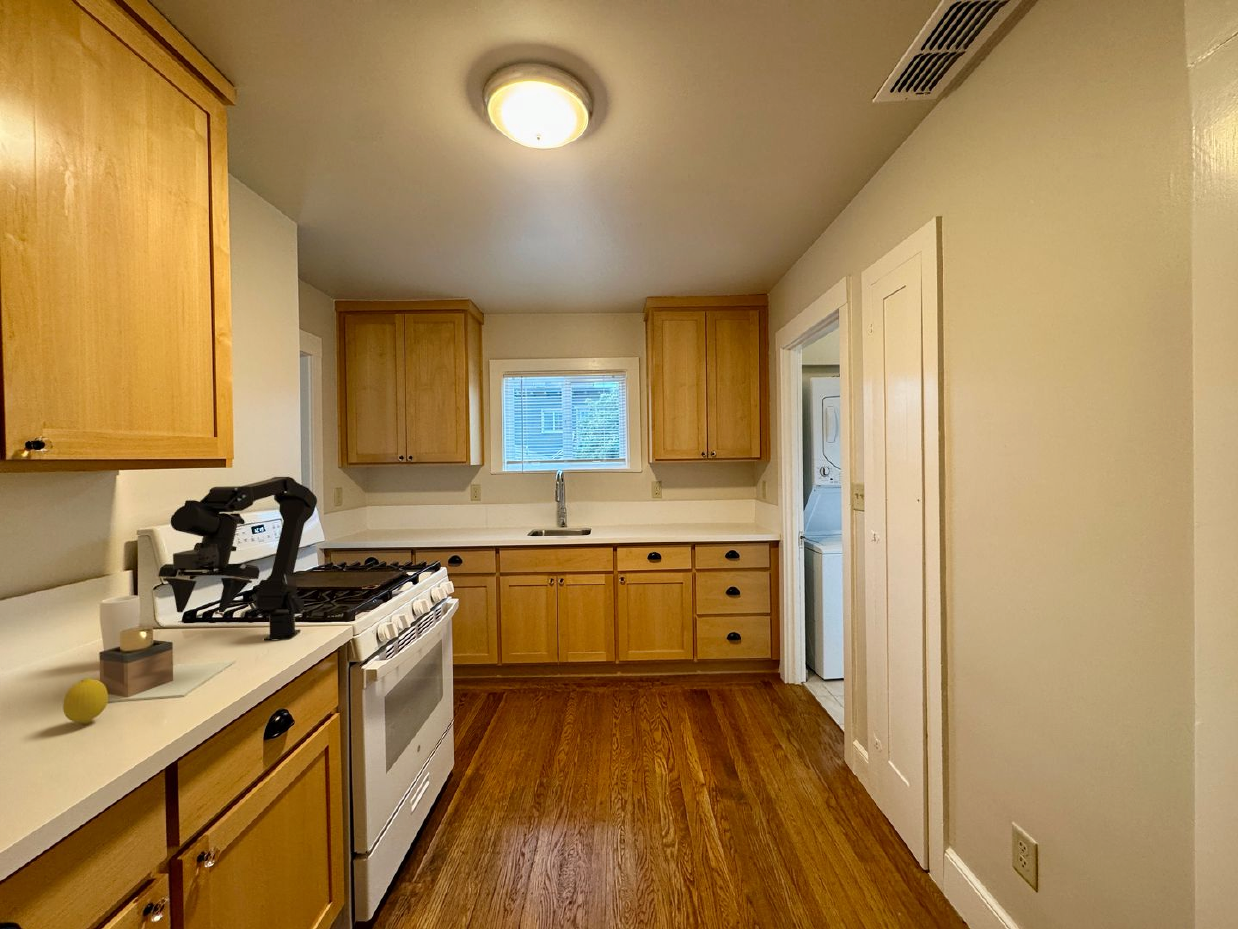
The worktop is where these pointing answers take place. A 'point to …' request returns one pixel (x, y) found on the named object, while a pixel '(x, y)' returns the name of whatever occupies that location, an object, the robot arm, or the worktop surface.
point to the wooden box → (136, 669)
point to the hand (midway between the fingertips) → (200, 612)
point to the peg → (136, 639)
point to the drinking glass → (118, 618)
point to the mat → (180, 681)
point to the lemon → (85, 701)
